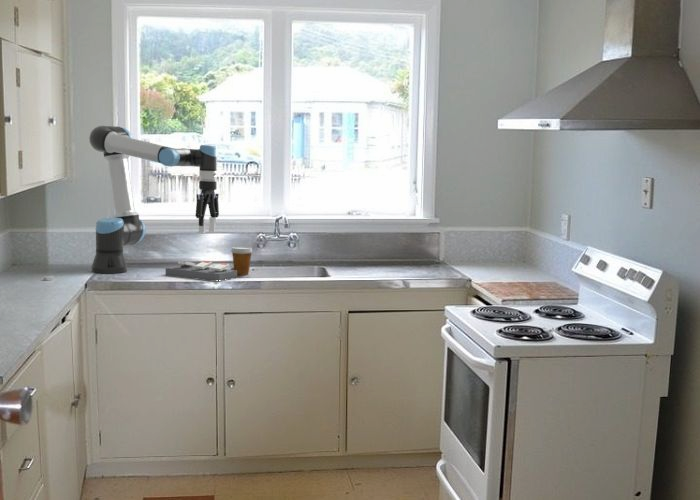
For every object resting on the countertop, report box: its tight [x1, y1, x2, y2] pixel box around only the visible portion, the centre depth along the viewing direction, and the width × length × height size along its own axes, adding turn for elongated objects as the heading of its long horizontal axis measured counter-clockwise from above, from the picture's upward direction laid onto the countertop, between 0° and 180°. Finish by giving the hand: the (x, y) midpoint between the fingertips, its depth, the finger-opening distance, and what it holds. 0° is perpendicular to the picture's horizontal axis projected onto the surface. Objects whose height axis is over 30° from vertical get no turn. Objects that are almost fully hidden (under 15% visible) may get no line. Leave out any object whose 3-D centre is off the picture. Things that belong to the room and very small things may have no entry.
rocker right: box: [211, 262, 230, 271], centre depth 368 cm, size 4×7×1 cm, turn 155°
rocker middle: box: [195, 260, 213, 269], centre depth 372 cm, size 4×7×1 cm, turn 155°
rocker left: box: [177, 260, 196, 266], centre depth 376 cm, size 4×7×1 cm, turn 155°
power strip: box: [164, 264, 238, 282], centre depth 371 cm, size 28×14×4 cm, turn 65°
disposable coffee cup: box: [230, 246, 253, 276], centre depth 382 cm, size 10×10×12 cm
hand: (207, 232), depth 372 cm, fingers open, 7 cm apart
